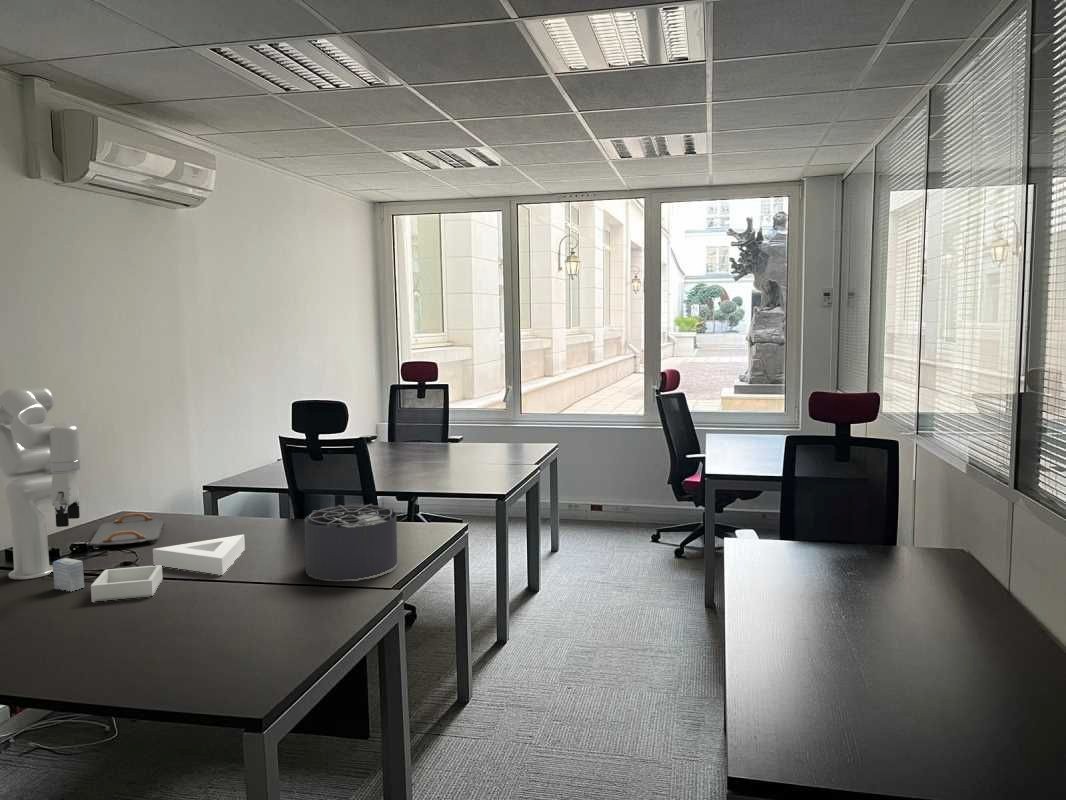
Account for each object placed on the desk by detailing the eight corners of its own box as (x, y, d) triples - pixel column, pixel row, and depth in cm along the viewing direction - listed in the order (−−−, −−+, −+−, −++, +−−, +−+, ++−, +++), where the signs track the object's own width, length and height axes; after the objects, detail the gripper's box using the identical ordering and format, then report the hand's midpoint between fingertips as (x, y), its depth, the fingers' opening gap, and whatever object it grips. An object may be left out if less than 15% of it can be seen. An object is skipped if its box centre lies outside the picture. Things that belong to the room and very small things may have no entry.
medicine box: (84, 588, 233) (83, 560, 232) (70, 592, 229) (69, 564, 228) (68, 584, 236) (66, 557, 236) (53, 589, 232) (52, 561, 232)
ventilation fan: (412, 505, 261) (370, 526, 232) (413, 558, 263) (372, 585, 234) (333, 500, 269) (284, 520, 240) (335, 552, 271) (286, 578, 242)
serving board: (103, 528, 307) (102, 513, 307) (166, 523, 316) (165, 508, 316) (87, 554, 272) (86, 536, 271) (159, 547, 280) (158, 530, 280)
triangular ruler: (153, 567, 256) (152, 548, 255) (212, 547, 280) (212, 530, 279) (222, 577, 244) (222, 558, 244) (278, 555, 268) (277, 538, 268)
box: (105, 585, 235) (105, 569, 235) (162, 580, 240) (161, 564, 239) (91, 602, 220) (90, 585, 220) (152, 597, 225) (151, 580, 224)
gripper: (61, 461, 236) (64, 516, 238) (40, 472, 219) (43, 530, 221) (88, 461, 238) (91, 514, 239) (69, 471, 221) (72, 529, 223)
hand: (68, 522), depth 230 cm, fingers open, 9 cm apart
